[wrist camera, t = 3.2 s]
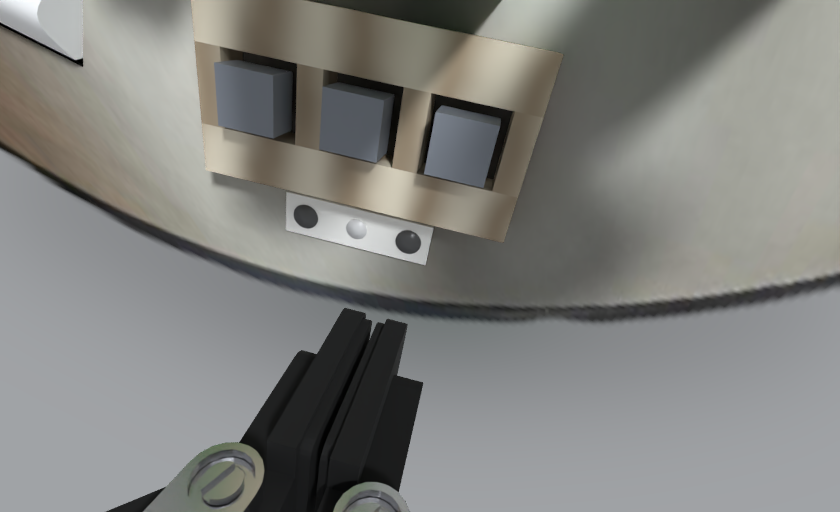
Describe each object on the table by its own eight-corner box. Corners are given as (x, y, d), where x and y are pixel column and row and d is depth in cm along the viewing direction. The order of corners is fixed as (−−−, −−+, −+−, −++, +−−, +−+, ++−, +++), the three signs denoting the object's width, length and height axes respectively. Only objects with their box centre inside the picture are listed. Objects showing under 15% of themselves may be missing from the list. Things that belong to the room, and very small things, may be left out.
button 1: (292, 71, 31) (273, 75, 28) (291, 130, 33) (273, 138, 31) (238, 59, 31) (213, 62, 29) (240, 118, 33) (218, 125, 31)
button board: (558, 52, 29) (563, 54, 26) (503, 227, 36) (503, 242, 33) (215, -19, 31) (188, -24, 28) (226, 160, 38) (205, 170, 35)
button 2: (500, 118, 30) (500, 126, 27) (485, 175, 32) (483, 188, 29) (441, 105, 30) (435, 111, 28) (430, 162, 32) (424, 174, 30)
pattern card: (433, 226, 37) (433, 228, 37) (425, 263, 39) (425, 265, 39) (287, 190, 38) (285, 192, 38) (287, 228, 40) (285, 230, 40)
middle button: (394, 94, 30) (384, 100, 28) (386, 152, 33) (376, 162, 30) (338, 81, 31) (322, 86, 28) (333, 140, 33) (319, 149, 30)
